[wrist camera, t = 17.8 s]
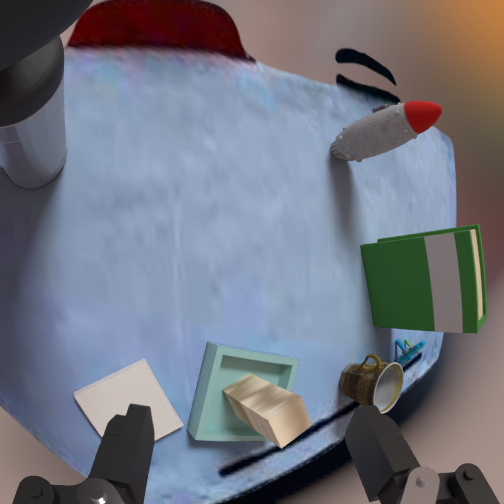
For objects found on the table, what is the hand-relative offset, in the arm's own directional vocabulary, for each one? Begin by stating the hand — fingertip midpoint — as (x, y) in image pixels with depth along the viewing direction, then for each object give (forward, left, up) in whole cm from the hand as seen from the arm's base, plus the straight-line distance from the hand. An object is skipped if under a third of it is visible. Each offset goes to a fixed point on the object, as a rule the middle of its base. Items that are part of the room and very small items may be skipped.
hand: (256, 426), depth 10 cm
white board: (+2, -12, -30) cm, 32 cm away
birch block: (+18, -7, -29) cm, 35 cm away
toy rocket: (+28, +41, -30) cm, 58 cm away
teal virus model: (+59, +4, -30) cm, 67 cm away
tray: (+18, -7, -30) cm, 35 cm away
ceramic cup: (+42, -2, -30) cm, 52 cm away
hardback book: (+46, +18, -30) cm, 58 cm away
